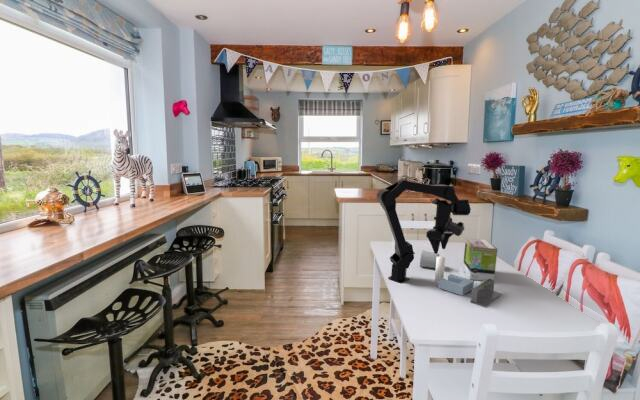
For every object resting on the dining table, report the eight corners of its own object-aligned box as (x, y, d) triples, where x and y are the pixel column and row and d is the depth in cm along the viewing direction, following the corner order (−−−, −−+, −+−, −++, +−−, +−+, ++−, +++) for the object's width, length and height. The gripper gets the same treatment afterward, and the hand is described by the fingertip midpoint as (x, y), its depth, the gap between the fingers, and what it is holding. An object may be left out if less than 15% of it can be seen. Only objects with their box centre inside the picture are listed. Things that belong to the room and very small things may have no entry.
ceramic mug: (437, 271, 156) (439, 254, 155) (419, 268, 159) (420, 252, 158) (438, 264, 165) (440, 249, 164) (421, 262, 168) (422, 246, 167)
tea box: (494, 282, 144) (498, 248, 142) (469, 280, 146) (472, 246, 144) (485, 270, 158) (488, 239, 156) (462, 268, 160) (464, 237, 158)
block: (462, 295, 129) (462, 287, 129) (438, 287, 136) (439, 280, 135) (473, 288, 136) (474, 280, 135) (450, 281, 143) (450, 274, 142)
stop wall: (485, 307, 120) (486, 293, 120) (470, 302, 124) (471, 289, 123) (501, 294, 131) (502, 282, 130) (487, 290, 135) (489, 278, 134)
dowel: (440, 282, 142) (442, 259, 140) (433, 280, 144) (434, 257, 143) (444, 280, 144) (446, 257, 143) (437, 278, 147) (438, 255, 145)
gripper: (455, 221, 130) (452, 260, 133) (469, 215, 145) (466, 250, 147) (427, 216, 137) (424, 254, 139) (443, 211, 152) (440, 245, 154)
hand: (439, 251), depth 145 cm, fingers open, 9 cm apart
